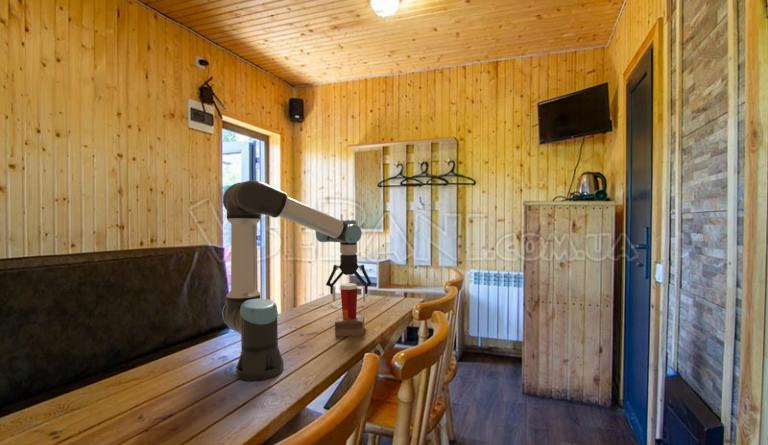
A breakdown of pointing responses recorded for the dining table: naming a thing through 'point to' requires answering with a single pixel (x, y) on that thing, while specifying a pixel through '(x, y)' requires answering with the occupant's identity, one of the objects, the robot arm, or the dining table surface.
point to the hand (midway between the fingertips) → (349, 301)
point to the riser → (349, 326)
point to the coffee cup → (349, 300)
